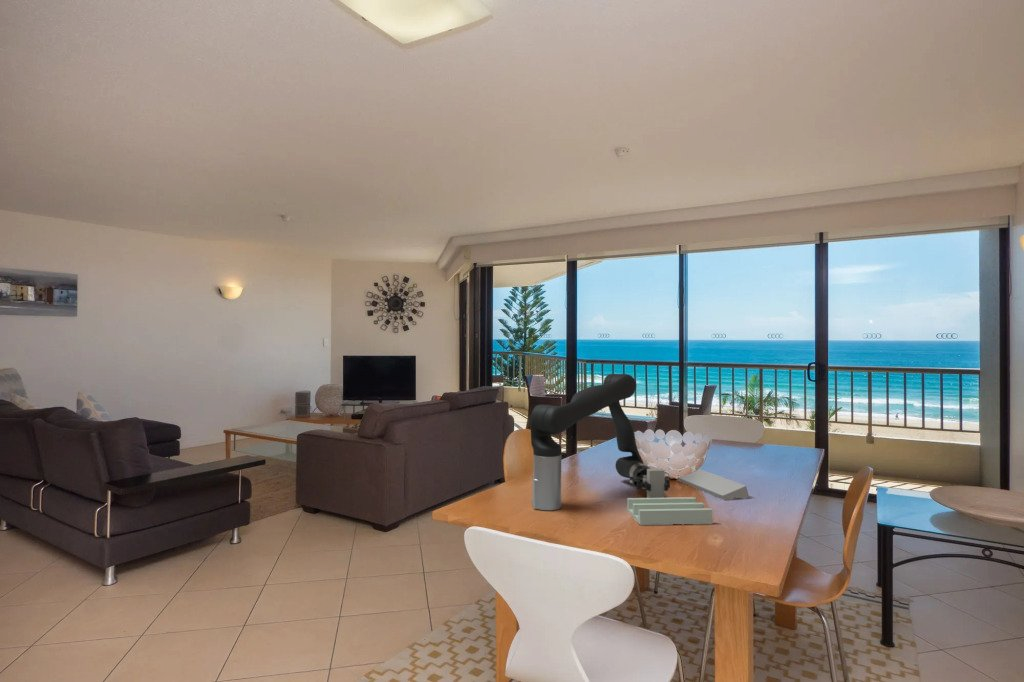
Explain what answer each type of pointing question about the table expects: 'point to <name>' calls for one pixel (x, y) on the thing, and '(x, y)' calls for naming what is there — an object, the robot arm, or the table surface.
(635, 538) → the table surface
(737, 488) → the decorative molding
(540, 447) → the robot arm
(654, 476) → the grey rectangular block
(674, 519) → the pale green ridged block
